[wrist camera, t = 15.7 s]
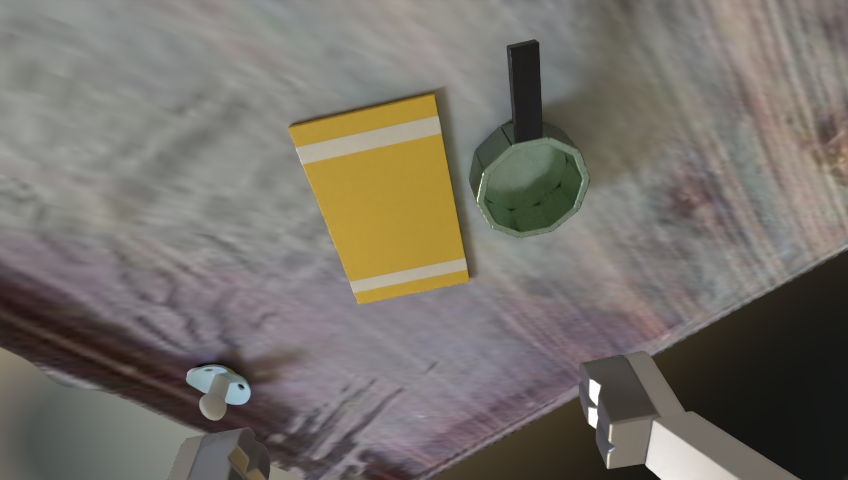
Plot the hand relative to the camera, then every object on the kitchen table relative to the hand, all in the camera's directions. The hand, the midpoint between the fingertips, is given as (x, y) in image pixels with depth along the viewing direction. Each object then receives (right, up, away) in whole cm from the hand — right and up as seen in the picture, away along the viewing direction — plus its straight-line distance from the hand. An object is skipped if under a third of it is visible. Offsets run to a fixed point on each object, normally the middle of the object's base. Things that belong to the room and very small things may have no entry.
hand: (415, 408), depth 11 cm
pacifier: (-24, -12, +42) cm, 50 cm away
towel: (-3, +7, +31) cm, 32 cm away
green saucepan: (+8, +13, +27) cm, 31 cm away
